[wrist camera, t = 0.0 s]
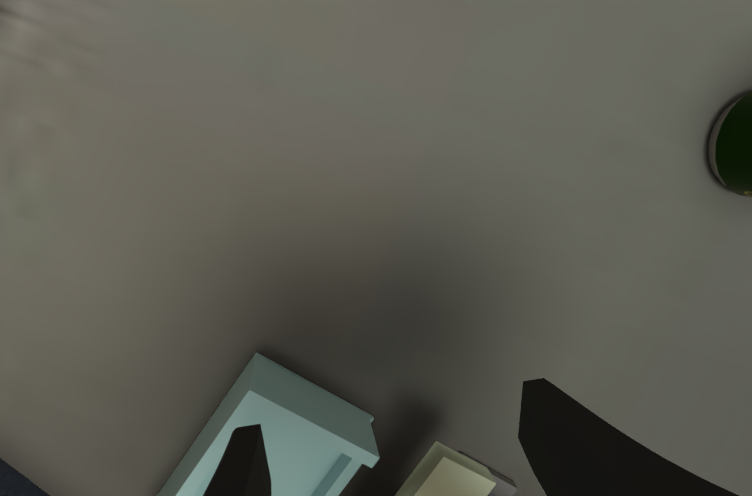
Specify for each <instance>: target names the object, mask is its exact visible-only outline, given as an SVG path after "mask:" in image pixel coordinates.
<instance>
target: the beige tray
mask: <svg viewBox="0 0 752 496" xmlns="http://www.w3.org/2000/svg"><path fill="white" fill-rule="evenodd" d="M495 485H496V482H495V480H494V479H493V477H492V475H491V474H490V472H489V470H488V469H487V467H485V466H483V465H481V464H479V463H477V462H475V461H473V460H471V459H470V458H468V457H466V456H464V455H462V454H460V453H458V452H456V451H454V450H452V449H450V448H449V447H447V446H445V445H443V444H441V443H439V442H437V441H436V442H435V443H434V444H433V446H432V447H431V448H430V450H429V451H428V452H427V454H426V455H425V456H424V458H423V459H422V460H421V461H420V463H419V464H418V465H417V467H416V468H415V469H414V471H413V472H412V473H411V475H410V476H409V477H408V479H407V480H406V481H405V483H404V484H403V485H402V487H401V488H400V489H399V490H398V492H397V493H396V494H395V496H487V495H488V494H489V493H490V491H491V490H492V489H493V488H494V486H495Z"/></svg>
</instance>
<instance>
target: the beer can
mask: <svg viewBox="0 0 752 496" xmlns="http://www.w3.org/2000/svg"><path fill="white" fill-rule="evenodd" d="M708 158H709V162H710V165H711V169H712V171H713V173H714V174H715V175H716V177H717V178H718V180H719V181H720V182H722V183H723V184H724V185H725V186H727V187H728V188H730V189H731V190H733V191H734V192H736V193H737V194H739V195H744V196H750V197H752V92H751V93H749V94H747V95H745V96H743V97H741V98H740V99H738V100H736V101H735V102H733V103H732V104H731V105H730V106H729V107H728V108H727V109H726V110H725V111H724V112H722V114H721V115H720V117H719V119H718V120H717V122H716V123H715V125H714V127H713V130H712V133H711V136H710V139H709V149H708Z"/></svg>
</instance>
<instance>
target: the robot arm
mask: <svg viewBox="0 0 752 496" xmlns="http://www.w3.org/2000/svg"><path fill="white" fill-rule="evenodd" d="M518 438H519V440H520V443H521V445H522V447H523V450H524V452H525V455H526V457H527V459H528V461H529V463H530V466H531V468H532V470H533V472H534V474H535V476H536V477H537V479H538V481H539V483H540V484H541V486H542V488H543V489H544V491H545V493H546V495H547V496H738V495H736V494H734V493H732V492H730V491H728V490H725V489H723V488H721V487H719V486H717V485H715V484H712V483H710V482H708V481H706V480H704V479H702V478H700V477H698V476H696V475H694V474H693V473H691V472H689V471H687V470H685V469H683V468H681V467H679V466H678V465H676V464H674V463H672V462H670V461H668V460H666V459H665V458H663V457H661V456H660V455H658V454H656V453H654V452H653V451H651V450H649V449H648V448H646V447H644V446H643V445H641V444H640V443H638V442H636V441H635V440H633V439H631V438H630V437H628V436H627V435H625V434H624V433H622V432H621V431H619V430H617V429H616V428H614V427H613V426H611V425H610V424H608V423H607V422H606V421H604V420H603V419H601V418H600V417H598V416H597V415H595V414H594V413H592V412H591V411H590V410H588V409H587V408H585V407H584V406H583V405H581V404H580V403H578V402H577V401H576V400H574V399H573V398H571V397H570V396H569V395H567V394H566V393H564V392H563V391H562V390H560V389H559V388H557V387H556V386H555V385H553V384H552V383H550V382H549V381H547V380H546V379H544V378H542V379H536V380H529V381H523V390H522V401H521V412H520V422H519V433H518ZM203 496H272V493H271V477H270V471H269V466H268V461H267V456H266V450H265V445H264V440H263V435H262V430H261V424H255V425H249V426H243V427H237V428H236V429H235V430H234V431H233V432H232V434H231V437H230V440H229V442H228V444H227V447H226V449H225V452H224V454H223V456H222V458H221V460H220V462H219V465H218V467H217V469H216V471H215V473H214V475H213V477H212V479H211V481H210V483H209V485H208V487H207V489H206V490H205V492H204V494H203Z"/></svg>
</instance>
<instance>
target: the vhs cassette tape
mask: <svg viewBox="0 0 752 496" xmlns="http://www.w3.org/2000/svg"><path fill="white" fill-rule="evenodd" d="M0 496H49V495H48V494H47V493H46V492H44V491H43V490H42V489H40V488H39V487H38V486H36V485H35V484H34V483H33V482H31V481H30V480H29V479H27V478H26V477H25V476H23V475H22V474H21V473H19V472H18V471H17V470H15V469H14V468H13V467H11V466H10V465H8V464H7V463H6V462H5V461H3V460H2V459H1V458H0Z"/></svg>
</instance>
